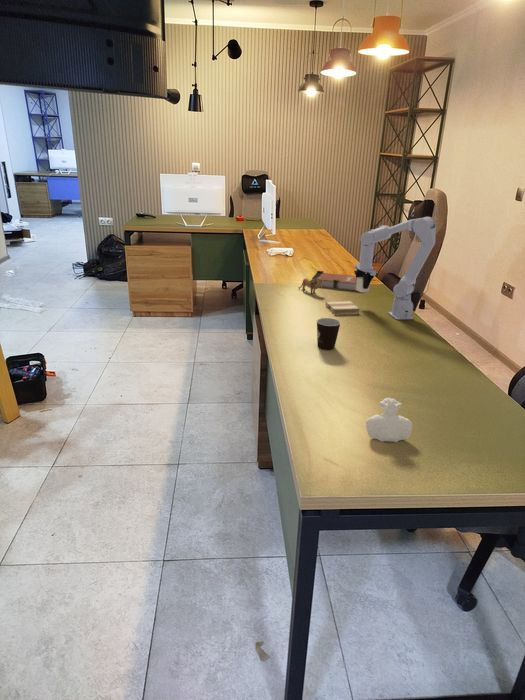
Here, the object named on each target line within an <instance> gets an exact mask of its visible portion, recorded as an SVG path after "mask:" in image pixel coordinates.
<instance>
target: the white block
mask: <svg viewBox="0 0 525 700" xmlns="http://www.w3.org/2000/svg"><path fill="white" fill-rule="evenodd" d="M370 286H371V283H370V284H369V287H368V289H364V288H363V277H357V284H356V290H357V291H356V292H360V293H368V292H370Z"/></svg>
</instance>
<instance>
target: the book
mask: <svg viewBox="0 0 525 700" xmlns="http://www.w3.org/2000/svg"><path fill="white" fill-rule="evenodd" d="M317 277H319V278H321V280H322V281H323V284H322V285H321V286H322V287H321V288H327V287H330V288H329V289H334V288H337V289H336V290H344V289H346V290H345V291H352V290H354V291H355V292H358V291H357V290H356V284H357V278H356V275H355V276H354V275H348V274H337V273H328V272H324V271H323V270H317V271H316V273H315V274H314V275H313V276H312V277H311V280H312V279H315V278H317ZM354 291H353V292H354Z"/></svg>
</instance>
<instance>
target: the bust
mask: <svg viewBox="0 0 525 700" xmlns="http://www.w3.org/2000/svg"><path fill="white" fill-rule="evenodd" d="M402 405H403V403H401V402H400V401H397V400H396V399H395V398H392V397H385V398H384V399H383V400H381V401H379V406H381V407H380V409H381V410H383V412H382V413H381V414H373V415H372V416H370V417H369V418H368V419H367V420H366V421H365V425H366V427H365V428H366V432H367V435H368V437H369V438H372V439H375V440H378V441H380V442H393V443H397V442H399V441H404V440H407V439H408V438H409V437H410V435H411V434H412V431H413V422H412V421H411V420H410V419H409V418H407V417H404V416H403V415H397V414H396V413H398V412H399V409H401V406H402Z"/></svg>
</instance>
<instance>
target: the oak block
mask: <svg viewBox="0 0 525 700" xmlns="http://www.w3.org/2000/svg"><path fill="white" fill-rule="evenodd" d="M325 306H326V307H327V308H328V309H329V310H330V311H331V312H332V313H333V314H332V313H331V312H330V311H329V312H330V313H331V314H332V315H334V314H341V315H342V314H347V315H359V314H360V310H361V309H360V308H359V307H358V306H357V305H356V304H355V303H353V302H352V301H351V300H331V301H330V300H329V301H325ZM326 307H325V308H326ZM327 308H326V309H327ZM328 309H327V310H328ZM341 315H340V316H341ZM342 316H343V315H342Z"/></svg>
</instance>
